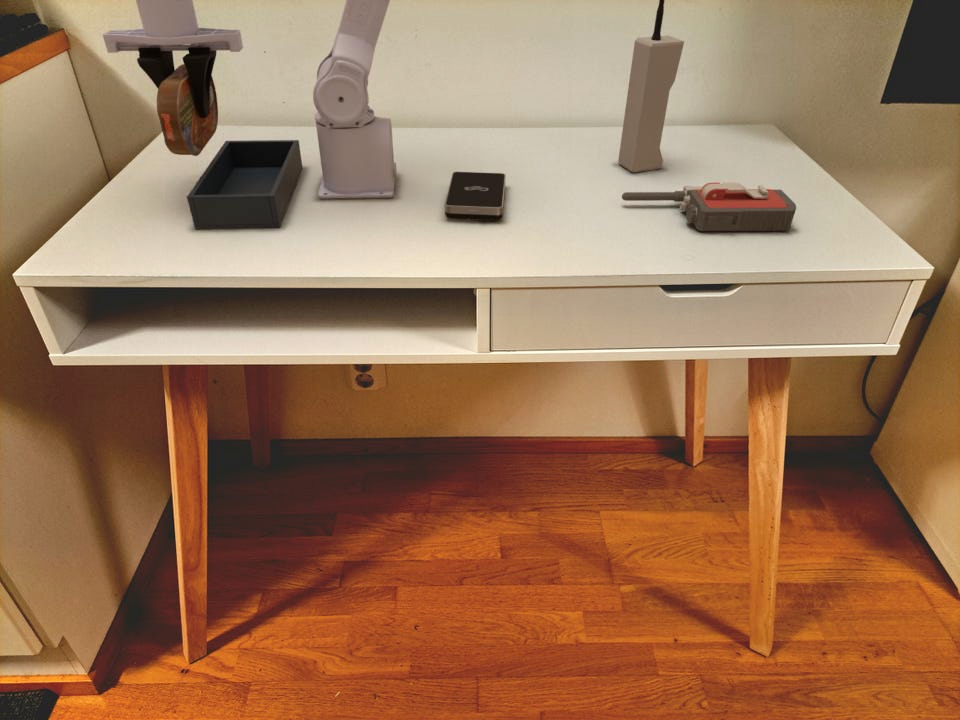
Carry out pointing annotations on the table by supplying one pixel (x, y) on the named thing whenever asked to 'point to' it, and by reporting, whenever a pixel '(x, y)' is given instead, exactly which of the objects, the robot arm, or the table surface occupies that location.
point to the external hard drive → (475, 196)
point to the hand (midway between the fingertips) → (192, 115)
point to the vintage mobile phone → (648, 98)
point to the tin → (184, 114)
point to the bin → (247, 185)
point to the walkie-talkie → (728, 207)
